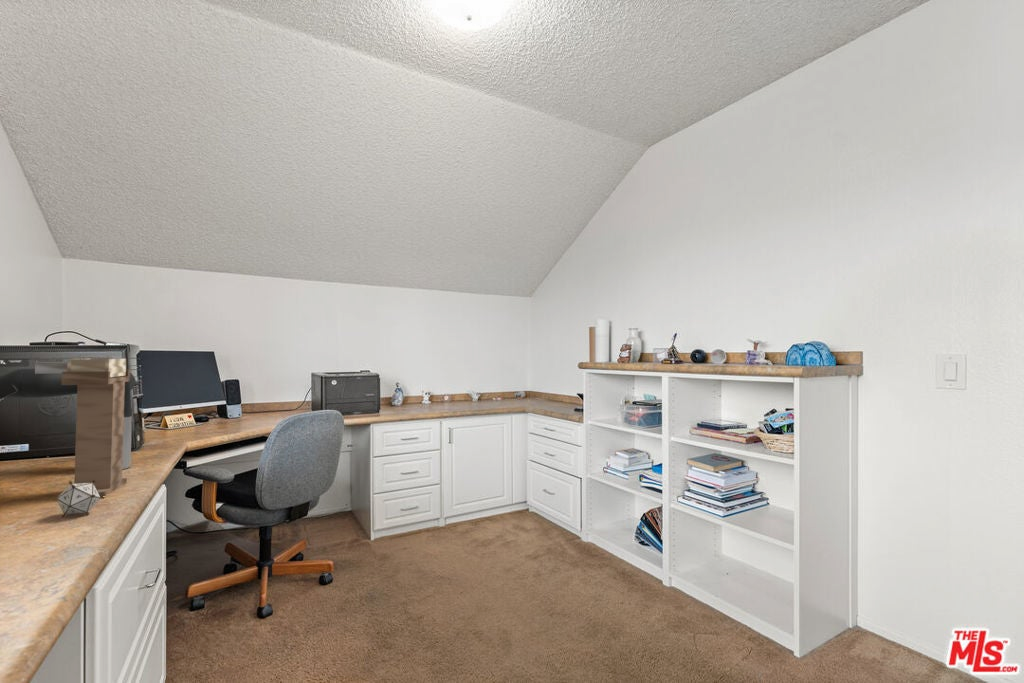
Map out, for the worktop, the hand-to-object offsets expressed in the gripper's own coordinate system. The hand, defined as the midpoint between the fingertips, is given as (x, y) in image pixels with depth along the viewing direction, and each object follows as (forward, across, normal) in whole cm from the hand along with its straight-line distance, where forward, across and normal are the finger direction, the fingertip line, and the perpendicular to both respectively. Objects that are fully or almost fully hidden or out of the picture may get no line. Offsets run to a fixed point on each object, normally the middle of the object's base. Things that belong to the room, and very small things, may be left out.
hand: (5, 389), depth 129 cm
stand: (+3, 0, +35) cm, 35 cm away
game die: (+7, -22, +38) cm, 44 cm away
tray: (+15, 0, +5) cm, 16 cm away
